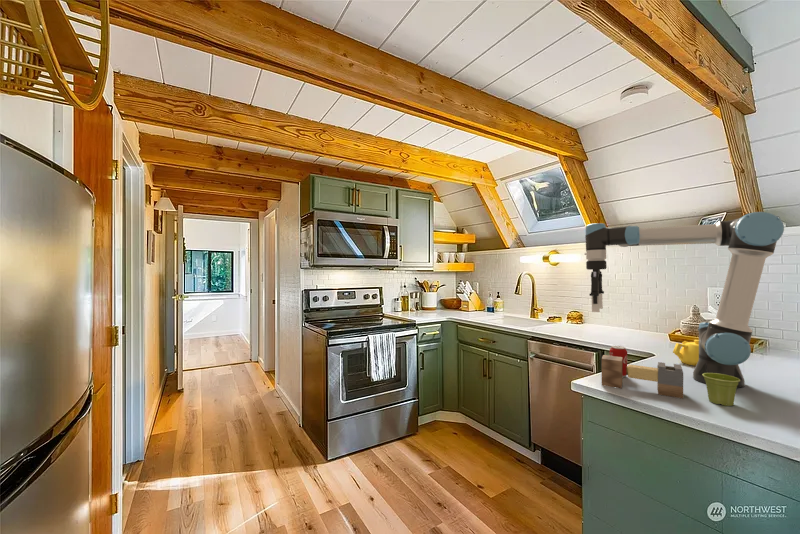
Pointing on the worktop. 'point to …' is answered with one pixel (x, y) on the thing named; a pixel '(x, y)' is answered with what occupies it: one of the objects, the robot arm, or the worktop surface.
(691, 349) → the teapot
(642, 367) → the rod
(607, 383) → the socket
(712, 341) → the robot arm
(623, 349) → the beverage can
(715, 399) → the plant pot
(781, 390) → the worktop surface
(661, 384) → the sleeve
